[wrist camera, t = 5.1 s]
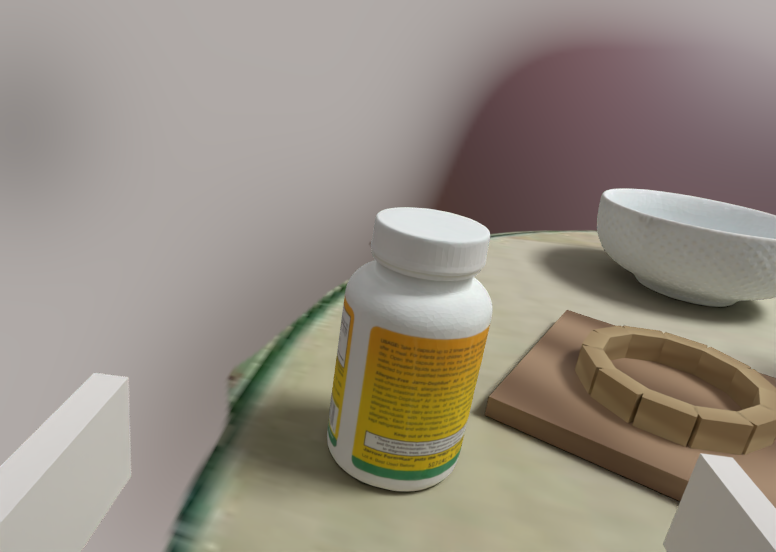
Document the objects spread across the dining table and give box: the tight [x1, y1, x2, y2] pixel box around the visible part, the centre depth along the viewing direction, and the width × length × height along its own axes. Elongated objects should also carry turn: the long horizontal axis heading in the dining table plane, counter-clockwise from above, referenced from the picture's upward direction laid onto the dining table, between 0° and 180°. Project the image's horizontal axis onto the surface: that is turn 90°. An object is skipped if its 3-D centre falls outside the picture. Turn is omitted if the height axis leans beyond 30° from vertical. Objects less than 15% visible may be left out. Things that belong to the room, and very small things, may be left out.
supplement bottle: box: [327, 207, 492, 491], centre depth 21 cm, size 5×5×10 cm
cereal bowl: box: [597, 189, 776, 307], centre depth 47 cm, size 17×17×7 cm
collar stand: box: [485, 310, 776, 508], centre depth 28 cm, size 14×14×2 cm
